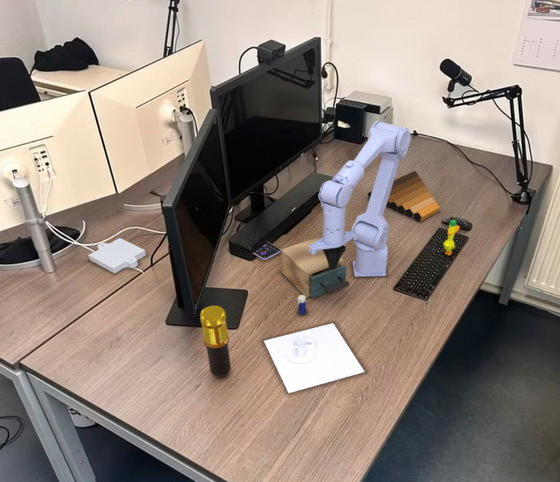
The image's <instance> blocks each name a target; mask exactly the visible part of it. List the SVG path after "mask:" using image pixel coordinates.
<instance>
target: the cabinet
mask: <svg viewBox="0 0 560 482" xmlns="http://www.w3.org/2000/svg"><path fill="white" fill-rule="evenodd" d="M319 239H320V238H318V237H313V238H312V239H308V240H305V241H302V242H299V243H297V244H293V245H291V246H287V247H285V248H280V250H281V252H280V255H281V273H282V274H283V275H284V276H285V278H287V280H288V281H289V282H290V283H292V285H294V286H295V287H296V288H297V290H299V292H301V293H302V295H304V296H306V298H309V297H311V296H310V292H309V275H310V274H312V273H315V272H318V271H321V270H323V269H326V268H329V266H328V261H327V258H326V256H325V253H324V252H323V250H321V251H318V252H316V254H314V255H312V254H311V253H310V252H309V245H311V244H313V243H315V242H316V241H318V240H319ZM344 260H345V259H344V258H342V257H341V258H340V260H339V262H338V264H339V266H342V265H344Z"/></svg>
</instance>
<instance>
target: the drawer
mask: <svg viewBox="0 0 560 482" xmlns="http://www.w3.org/2000/svg"><path fill="white" fill-rule="evenodd" d="M346 277H347V266H346V265H345V264H343V265H342V266H339V264H338V265H337V268H336V269H334V270H332V269H331V268H330V267H329V268H326V269H323V270H321V271H318V272H315V273H312V274H310V275H309V292H310V296H309V297H310V298H312V299H315V298H317V297H320V296H322V295H324V294H327V295H329V294H332V293H333V292H336V291H340V290H341V289H344V288H347V287H349V286H350V282H349V281H348V280H347V278H346Z"/></svg>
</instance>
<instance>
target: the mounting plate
mask: <svg viewBox="0 0 560 482" xmlns="http://www.w3.org/2000/svg"><path fill="white" fill-rule="evenodd" d="M96 248H97V250H95V251H93V252H91V253H89V254H87V256H88V259H89V262H93V264H96V265H97V266H100V267H102V268H103V269H105V270H107V271H109V272H111V273H113V274H116V273H118V272H120V271H121V270H123V269H125V268H130V269H135V268H136V267H137V266H139V262H138V261H139V260H141V259H142V258H144V257H146V256H147V253H146V252H147V251H146V250H145V249H143V248H142V247H139V246H138V245H136V244H133V243H132V242H130V241H128V240H125V239H123V238H122V237H119V238H117V239H115V240H113V241H112V242H109V243H107V242H101V243H99V244H97V246H96Z"/></svg>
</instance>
